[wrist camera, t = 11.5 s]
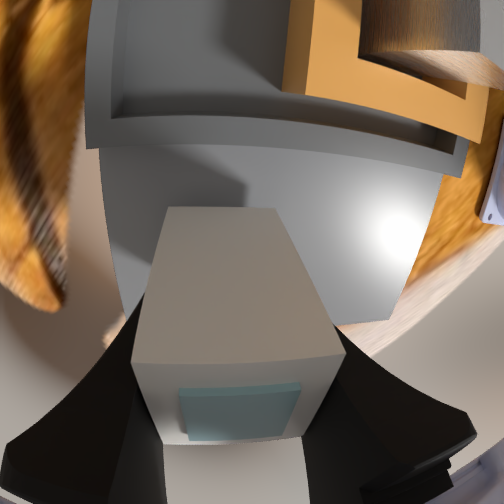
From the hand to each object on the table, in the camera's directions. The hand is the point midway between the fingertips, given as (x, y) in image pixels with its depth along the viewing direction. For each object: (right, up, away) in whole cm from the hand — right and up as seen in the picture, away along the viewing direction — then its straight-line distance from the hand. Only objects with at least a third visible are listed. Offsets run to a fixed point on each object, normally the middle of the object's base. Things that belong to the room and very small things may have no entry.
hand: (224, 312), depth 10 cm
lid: (+2, +3, +5) cm, 6 cm away
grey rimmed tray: (+4, +15, -3) cm, 15 cm away
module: (0, +2, +2) cm, 3 cm away
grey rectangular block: (+6, +11, -1) cm, 13 cm away
